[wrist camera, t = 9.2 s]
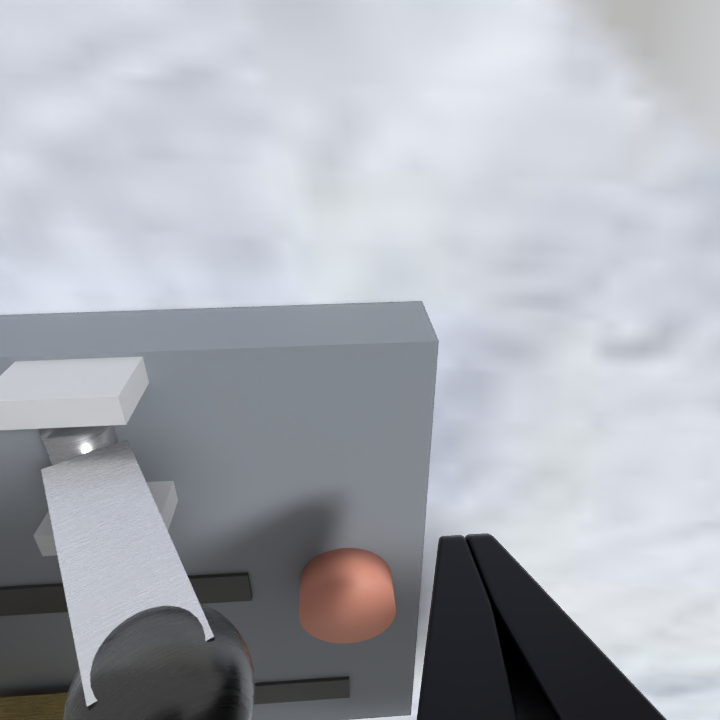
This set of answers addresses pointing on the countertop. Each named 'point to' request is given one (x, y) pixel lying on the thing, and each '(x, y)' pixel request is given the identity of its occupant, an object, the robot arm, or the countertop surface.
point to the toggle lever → (133, 595)
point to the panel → (239, 484)
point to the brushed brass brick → (33, 707)
